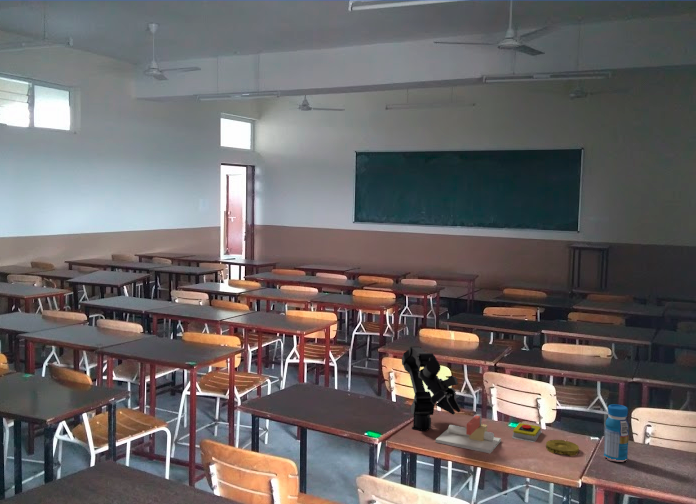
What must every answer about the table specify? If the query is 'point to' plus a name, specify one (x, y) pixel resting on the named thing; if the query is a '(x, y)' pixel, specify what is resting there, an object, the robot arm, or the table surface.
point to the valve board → (469, 438)
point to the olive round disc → (562, 447)
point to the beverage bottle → (616, 433)
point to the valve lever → (473, 424)
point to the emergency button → (526, 432)
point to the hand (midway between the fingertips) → (457, 412)
